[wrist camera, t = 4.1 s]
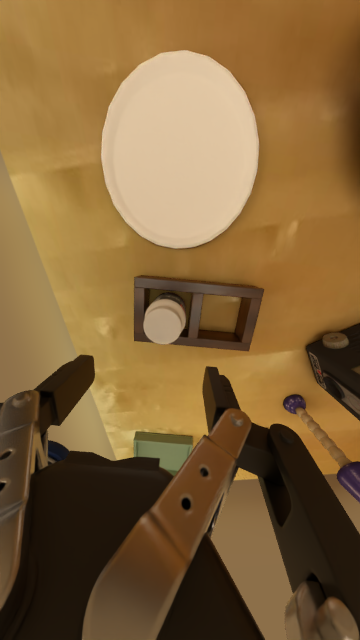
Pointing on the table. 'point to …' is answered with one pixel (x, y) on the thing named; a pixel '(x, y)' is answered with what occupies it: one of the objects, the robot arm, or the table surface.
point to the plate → (180, 149)
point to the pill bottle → (165, 318)
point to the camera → (339, 366)
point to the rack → (198, 288)
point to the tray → (164, 449)
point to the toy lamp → (328, 447)
